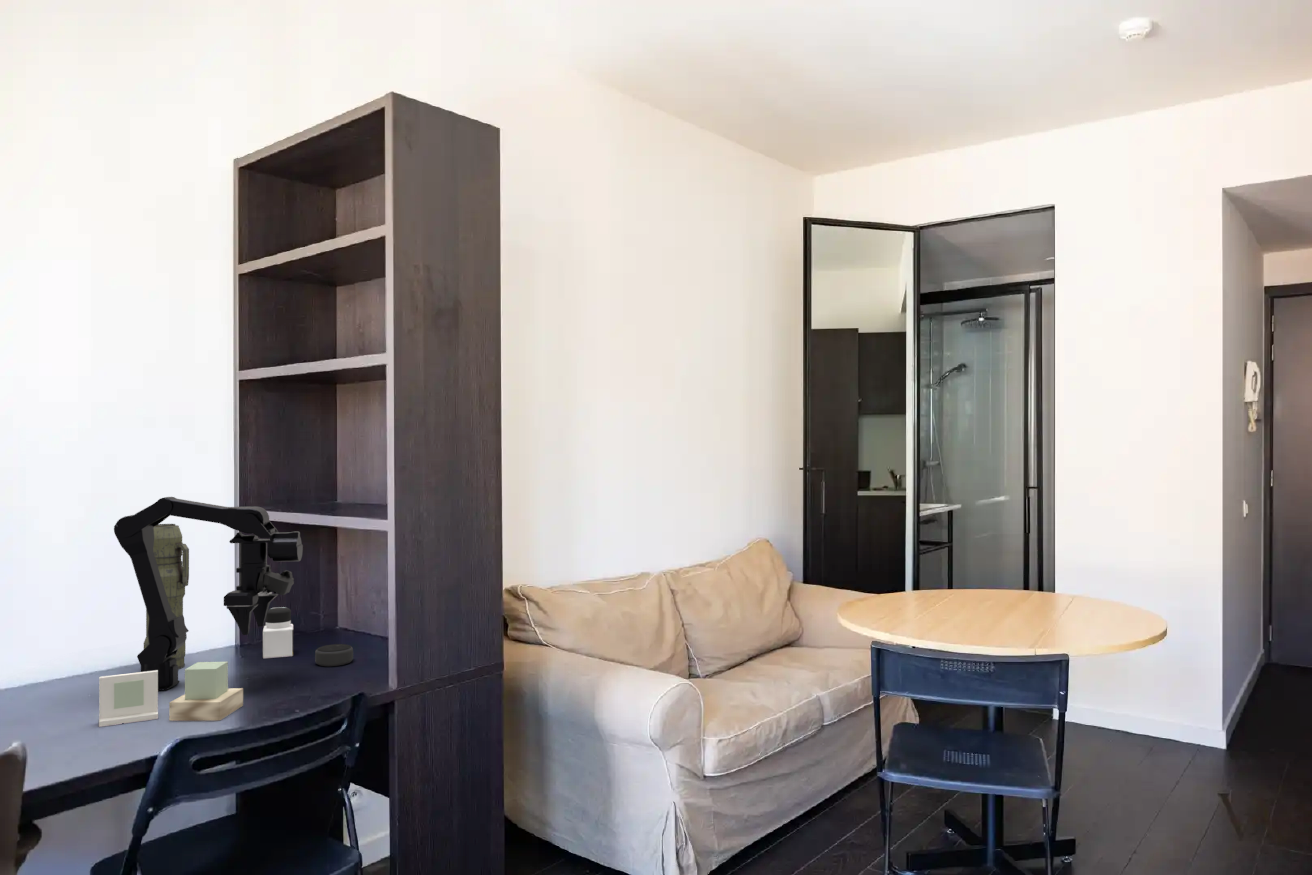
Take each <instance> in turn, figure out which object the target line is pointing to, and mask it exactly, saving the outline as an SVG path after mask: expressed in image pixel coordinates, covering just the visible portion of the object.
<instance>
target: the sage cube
mask: <svg viewBox="0 0 1312 875" xmlns="http://www.w3.org/2000/svg"><path fill="white" fill-rule="evenodd" d="M228 663H229V662H228V661H197V662H195V663H194V664H192V665H191V666H189V667H186V668H185V669H184V694H185V700H189V699H217V698H218V697H219V696H221V695H222V694H224V693H225V692H226V691H228V688H229V681H228V680H229V669H228V668H229V667H228V666H229V664H228Z"/></svg>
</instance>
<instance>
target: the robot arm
mask: <svg viewBox="0 0 1312 875" xmlns="http://www.w3.org/2000/svg"><path fill="white" fill-rule="evenodd" d="M170 516H173V517H179V518H185V519H190V520H197V521H203V522H210V523H215V524H221V525H224V526H226V527H228V528H230V529H232V530H236V531H238V532H236V534H235V536H234V537H233V538H231V539H230V540H229V543H230V544H239V566H238V567H236V568H235V570H236V572H235V573H236V574H237V573H239V585H237V586H235V587H236V589H235V590H232V591H230V592H228V593H226V594H225V595H224V596H223V606H225V607H226V610H229V613H230V614H231V615H232V617H233V619H234V621H235V623H236V624H237V627H238V629H239V630H240V633H241V634H242V636H248V635H249V633H250V628H251V619H252V613H253V615H254V618H255V622H256V624H257V626H258V627H264V626H265V623H266V615H267V611H268V610H269V609H270V608H269V607H270V604H271V602H272V601H273V600H274V599H275V598H276V597H278V596H285V595H286V594H289V593H290V591H291V589H292V586H293V585H294V584H295V581H294V580H295V578H294V577H293V572H292V571H290V570H284V571H282V572H281V573H279V572H276V573H275V572H273V571H272V566H271V565H270V564H268V558H269V559H272V561H273V562H276V563H279V562H300V561H301V560H302V557H303V551H304V548H303V547H304V545H303V544H302V538H301V532H300V531H298V530H297V531H295V530H294V531H291V532H279V530H278V529H277V528H276V527H275V526H274V524H273V523H272V522H271V521H270V515H269V513H268V512H267V509H265V508H263V507H260V506H223V505H217V504H211V503H205V502H199V501H194V500H189V499H187V500H186V499H181V498H177V497H175V496H166V497H162V498H161V497H160V498H159V499H158V500H157V501H156V502H154V503H152V504H151V505H149V506H147V507H145V508H143V509H142V510H139V511H138V512H136V513H135V514H132V515H131V514H130V515H127V516H126V515H125V516H123V517H120V519H118V520H117V521H116V523H115V525H114V526H113V531H114V535H115V537H116V539H117V541H118V543H119V545H120V546H121V548H122V549H123V550H124V551H125V552H126V554H127V555H128V556H129V558H130V559H131V563H132V566H133V570H134V573H135V576H136V580H137V583H138V586H139V590H140V592H141V595H142V599H143V603H144V606H145V610H147V613H148V616H149V623H148V642H149V645H148V646H147V647H146V648H145V649H144V648H143V650H141V652H139V653H138V654H137V660H138V662H139V664H140V672H146V671H155V670H158V691H168V690H170V689H172V688H173V687H175V686H177V685H178V684H179V683H180V680H179V669H178V665H177V664H176V658H172V656H174V655H176V654H177V651H178V649H179V648H180V647H181V646H182V645H183V644H184V643H185V644H186V640H187V639H188V638H187V633H188V632H190V631H189V629H188V628H187V626H186V624H185V623H186V622H185V617H184V614H183V615H181V616H179V617H176V615H175V614H174V613H173V612H172V611H171V609H170V605H169V602H168V599H167V595H166V592H165V589H164V586H163V582H162V579H161V576H160V572H159V569H158V566H157V562H156V559H155V556H154V553H153V546H154V529H153V527H155V526H156V525H158V524H162V523H163V522H164V521H165V520H166V519H168V518H169V517H170ZM243 533H244V534H243ZM245 534H246V535H245ZM248 534H249V535H248Z"/></svg>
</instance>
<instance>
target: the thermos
mask: <svg viewBox="0 0 1312 875" xmlns="http://www.w3.org/2000/svg"><path fill="white" fill-rule="evenodd" d="M180 528H181V527H180V525H177V524H176V523H159V524H158V525H156V526H155V527H153V529H154V546H153V553H154V556H155V559H156V562H157V566H158V569H159V572H160V576H161V579H162V582H163V586H164V589H165V592H166V595H167V599H168V602H169V605H170V609H171V611H172V612H173V613H174V614H175V615H176V617H179V616H181V615H183V616H184V597H185V595H186V587H187V586H189V580H190V548H189V547H188V545H187V543H184V542H183V533H182V532H181V529H180ZM145 610H146V609H145ZM145 613H146V614H145V617H146V618H145V621H146V622H145V623H146V624H145V627H146V629H145V635H146V636H145V638H144V641H143V650H144V649H145V648H146V647H147V646H148V645H149V642H148V623H149V616H148V613H147V610H146V611H145ZM185 657H186V642H185V643H184V644H183V645H182V646H181V647H180V648H179V649H178V651H177V654H176V655H174V656H172V658H176V664H177V665H178V670H181V669H183V668H185V666H186V664H185Z"/></svg>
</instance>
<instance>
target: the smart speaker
mask: <svg viewBox="0 0 1312 875" xmlns="http://www.w3.org/2000/svg"><path fill="white" fill-rule="evenodd" d="M314 651H315V653H314V660H315V664H316V665H318V666H321V667H340V666H344V665H347V664H350V663H351V662H352V661H353V660H354V649H353V647H352V645H350V644H347V643H346V644H345V643H334V644H325V645H321V646H320V647H317V648H316V649H315V650H314Z"/></svg>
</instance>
